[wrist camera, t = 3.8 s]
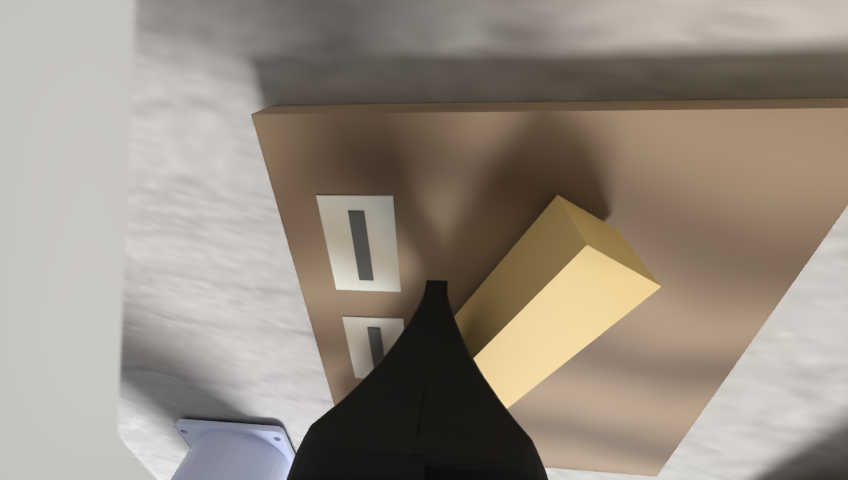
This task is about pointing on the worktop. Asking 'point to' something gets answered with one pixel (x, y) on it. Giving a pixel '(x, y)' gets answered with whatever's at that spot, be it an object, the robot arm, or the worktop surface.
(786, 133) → the label board
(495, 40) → the worktop surface
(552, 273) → the swing bar
